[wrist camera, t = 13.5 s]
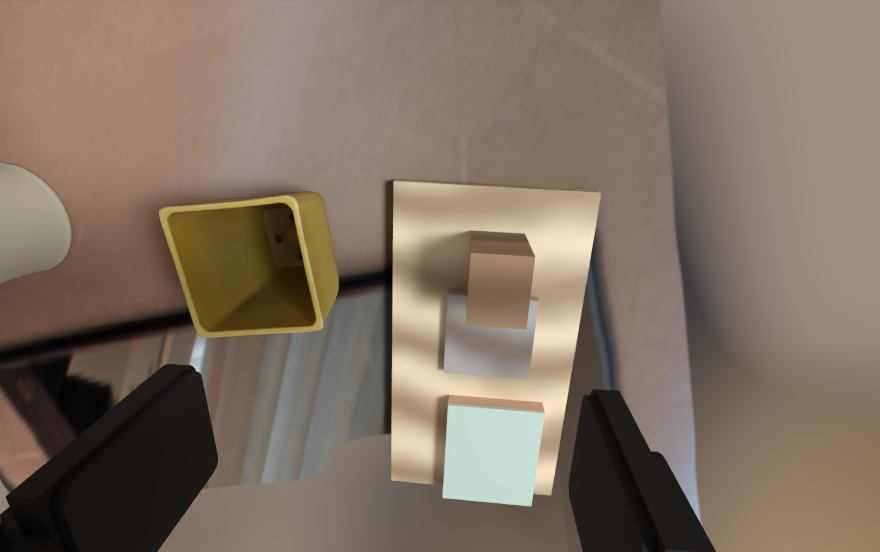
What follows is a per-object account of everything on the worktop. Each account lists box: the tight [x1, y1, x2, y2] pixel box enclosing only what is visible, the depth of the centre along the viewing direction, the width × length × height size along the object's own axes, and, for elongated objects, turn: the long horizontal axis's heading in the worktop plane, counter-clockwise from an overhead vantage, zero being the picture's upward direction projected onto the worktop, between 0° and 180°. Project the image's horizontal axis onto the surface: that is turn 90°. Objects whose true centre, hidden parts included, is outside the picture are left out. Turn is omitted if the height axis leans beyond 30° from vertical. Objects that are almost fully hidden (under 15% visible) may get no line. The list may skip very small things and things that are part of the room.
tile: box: [443, 395, 545, 506], centre depth 39 cm, size 2×8×10 cm
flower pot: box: [159, 191, 339, 337], centre depth 31 cm, size 9×9×9 cm
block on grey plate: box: [444, 230, 539, 380], centre depth 32 cm, size 12×7×6 cm, turn 177°
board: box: [391, 179, 601, 495], centre depth 37 cm, size 28×15×1 cm, turn 177°
